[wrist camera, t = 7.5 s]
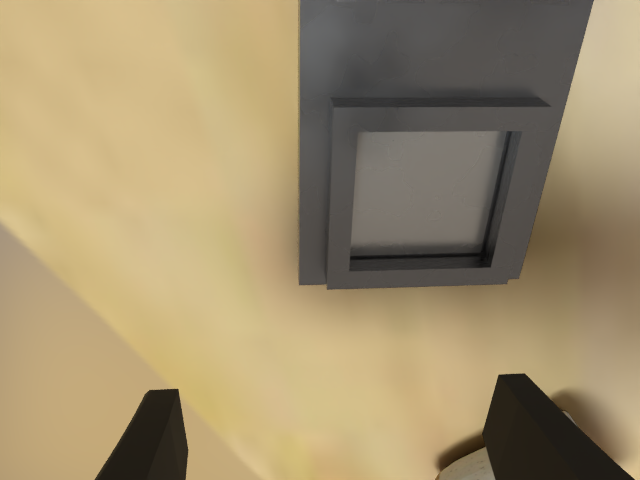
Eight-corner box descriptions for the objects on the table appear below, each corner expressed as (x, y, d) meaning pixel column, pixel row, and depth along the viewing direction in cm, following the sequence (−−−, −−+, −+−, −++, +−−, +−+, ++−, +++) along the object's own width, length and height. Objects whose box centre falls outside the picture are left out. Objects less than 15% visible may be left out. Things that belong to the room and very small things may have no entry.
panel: (660, -333, 13) (718, -367, 12) (509, 264, 23) (528, 293, 21) (299, -357, 13) (303, -398, 11) (297, 270, 22) (300, 300, 20)
